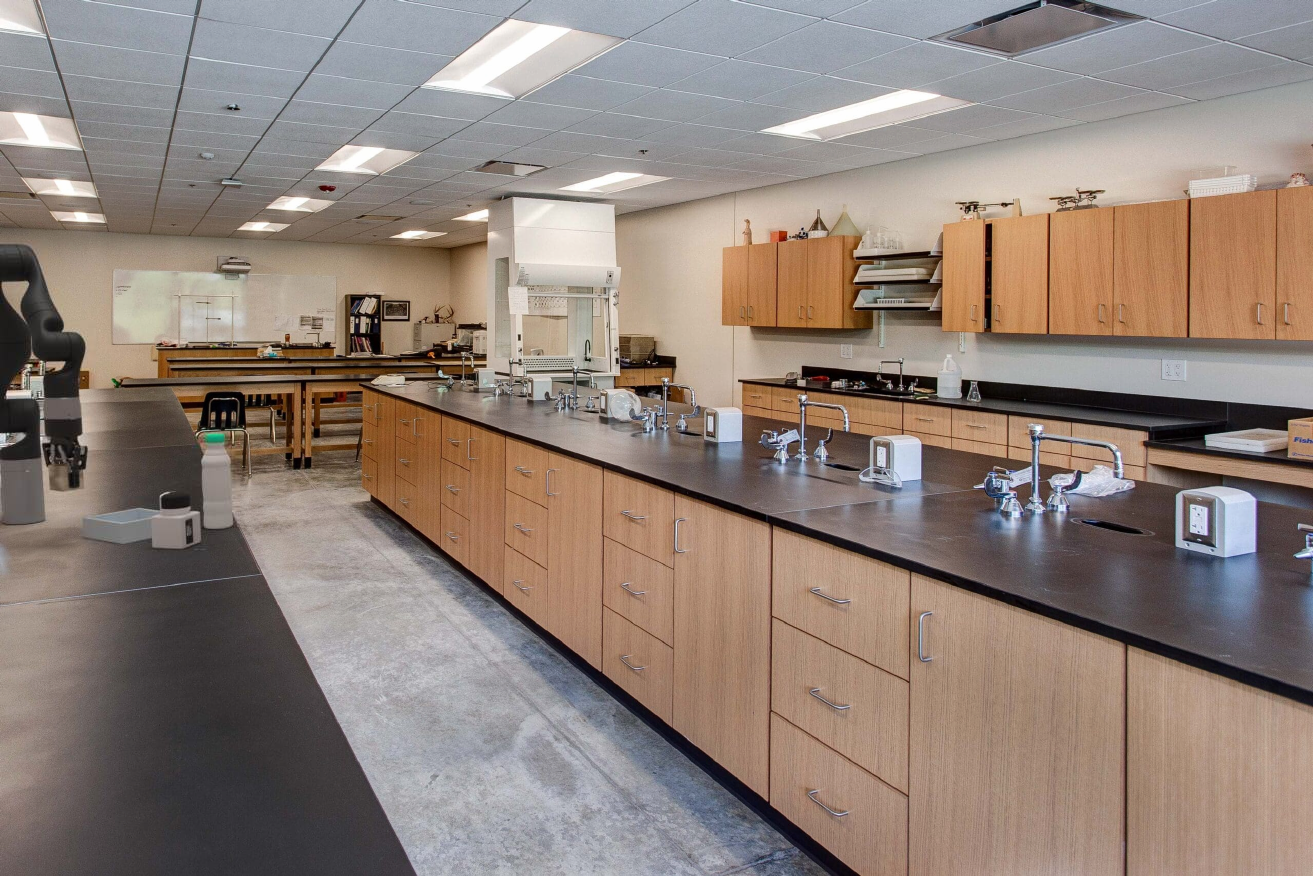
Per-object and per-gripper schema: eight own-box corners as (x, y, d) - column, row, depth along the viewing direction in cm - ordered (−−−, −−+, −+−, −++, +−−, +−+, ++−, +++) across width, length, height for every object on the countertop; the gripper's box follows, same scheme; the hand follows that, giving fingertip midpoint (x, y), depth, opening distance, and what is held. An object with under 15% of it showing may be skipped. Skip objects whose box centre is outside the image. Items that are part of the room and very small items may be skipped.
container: (201, 542, 220) (199, 490, 219) (182, 549, 213) (179, 495, 211) (172, 541, 221) (169, 489, 220) (151, 548, 213) (149, 494, 212)
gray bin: (83, 537, 223) (82, 517, 223) (140, 526, 237) (139, 508, 236) (123, 544, 217) (121, 523, 216) (178, 532, 230) (177, 513, 230)
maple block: (49, 489, 213) (48, 464, 212) (70, 486, 217) (69, 462, 216) (62, 491, 211) (61, 466, 210) (84, 488, 215) (82, 464, 214)
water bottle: (225, 530, 234) (221, 435, 231) (198, 529, 234) (194, 434, 232) (238, 524, 241) (234, 432, 238) (212, 523, 241) (208, 432, 239)
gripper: (27, 415, 211) (32, 486, 213) (65, 419, 205) (70, 491, 207) (60, 413, 218) (64, 481, 220) (98, 416, 212) (101, 487, 214)
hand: (66, 486), depth 214 cm, fingers closed on maple block, 5 cm apart
